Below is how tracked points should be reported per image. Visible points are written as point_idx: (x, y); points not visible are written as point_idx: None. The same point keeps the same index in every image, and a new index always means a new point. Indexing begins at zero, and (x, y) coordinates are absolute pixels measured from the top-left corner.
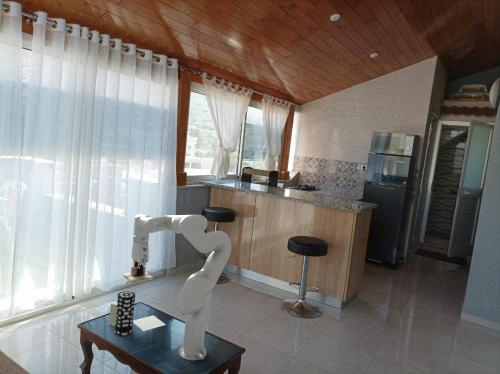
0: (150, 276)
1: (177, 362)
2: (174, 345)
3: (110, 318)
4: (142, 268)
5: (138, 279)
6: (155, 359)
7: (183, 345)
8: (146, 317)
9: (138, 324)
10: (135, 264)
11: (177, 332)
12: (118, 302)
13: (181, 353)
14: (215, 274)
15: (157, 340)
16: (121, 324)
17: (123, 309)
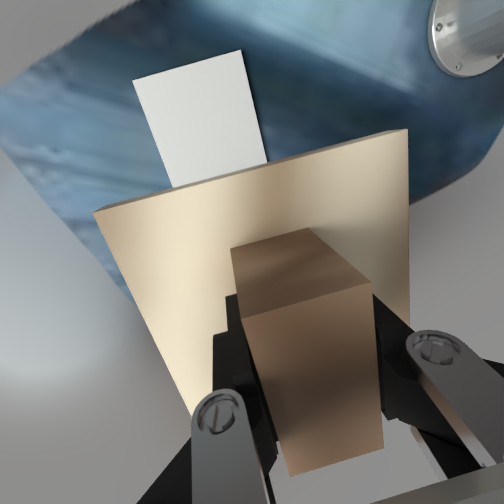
0: (363, 157)
1: (484, 100)
2: (395, 71)
3: None
4: (426, 344)
5: (404, 312)
6: (434, 164)
7: (491, 52)
8: (151, 121)
9: (209, 170)
10: (266, 472)
11: (312, 16)
12: None
13: (471, 70)
14: None
15: (338, 126)
16: None
17: None
